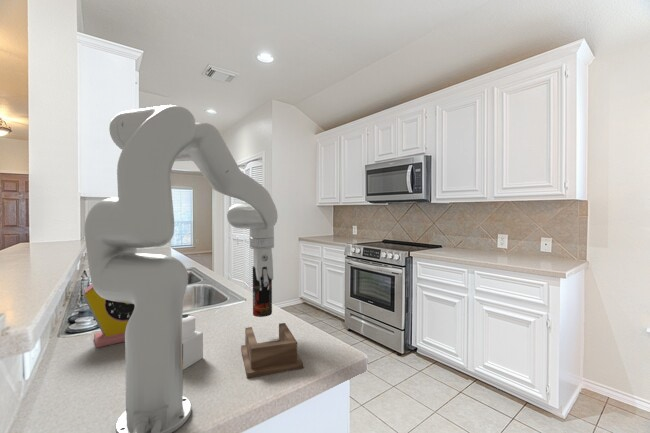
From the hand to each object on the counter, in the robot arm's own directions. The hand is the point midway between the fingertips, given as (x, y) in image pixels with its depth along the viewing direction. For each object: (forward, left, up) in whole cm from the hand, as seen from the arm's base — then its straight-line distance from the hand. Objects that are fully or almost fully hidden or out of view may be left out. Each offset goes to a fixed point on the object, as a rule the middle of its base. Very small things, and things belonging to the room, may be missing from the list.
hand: (262, 299), depth 98 cm
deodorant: (0, 0, -5) cm, 5 cm away
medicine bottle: (-9, +22, -12) cm, 27 cm away
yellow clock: (+15, +40, -12) cm, 45 cm away
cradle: (-15, 0, -12) cm, 19 cm away
